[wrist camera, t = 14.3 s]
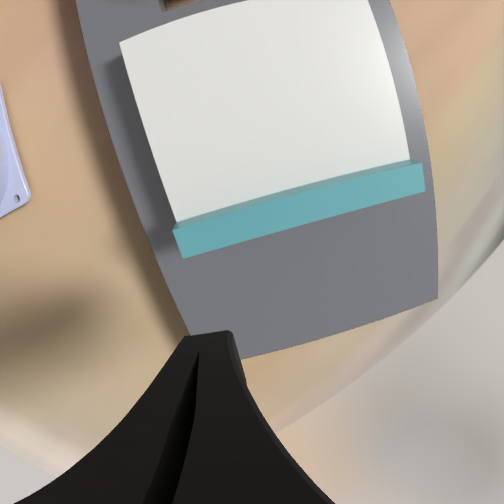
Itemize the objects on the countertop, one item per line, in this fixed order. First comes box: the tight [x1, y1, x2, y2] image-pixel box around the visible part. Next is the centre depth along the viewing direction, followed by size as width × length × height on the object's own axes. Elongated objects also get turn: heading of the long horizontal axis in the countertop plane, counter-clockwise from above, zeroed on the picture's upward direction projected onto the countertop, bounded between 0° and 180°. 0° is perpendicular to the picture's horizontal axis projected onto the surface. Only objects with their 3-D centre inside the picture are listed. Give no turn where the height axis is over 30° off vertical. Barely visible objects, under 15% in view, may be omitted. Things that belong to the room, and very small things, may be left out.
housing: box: [76, 0, 438, 360], centre depth 13 cm, size 14×26×3 cm, turn 16°
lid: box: [119, 0, 425, 259], centre depth 11 cm, size 10×9×2 cm
